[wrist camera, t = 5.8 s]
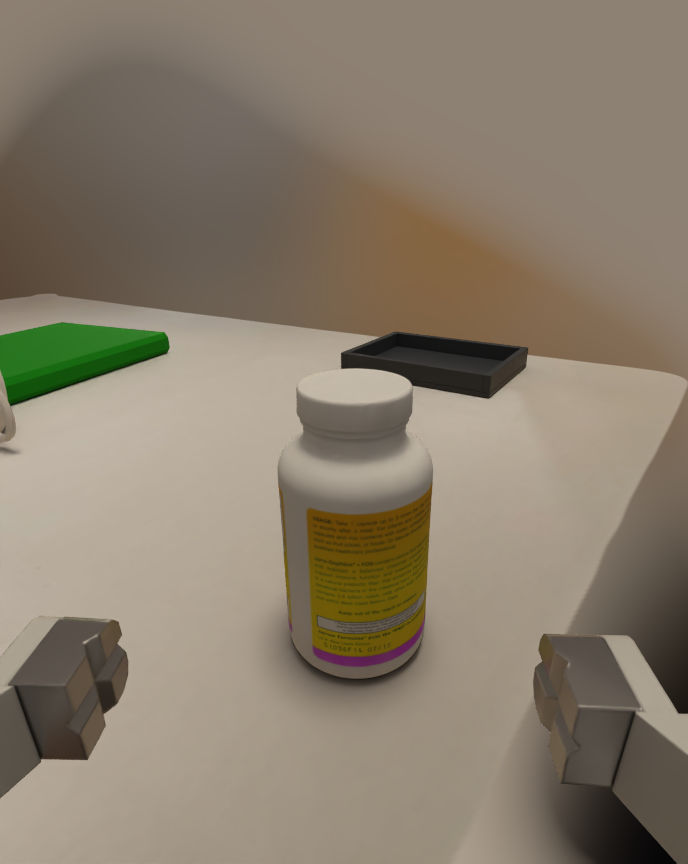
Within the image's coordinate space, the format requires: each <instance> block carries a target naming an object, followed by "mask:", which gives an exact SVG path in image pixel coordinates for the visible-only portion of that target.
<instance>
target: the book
mask: <svg viewBox="0 0 688 864" xmlns="http://www.w3.org/2000/svg"><path fill="white" fill-rule="evenodd" d="M169 348H170V347H169V341H168V337H167V335H166V334H165V333H164V332H155V331H145V330H134V329H124V328H114V327H103V326H93V325H83V324H73V323H62V322H61V323H57V324H52V325H47V326H43V327H38V328H33V329H29V330H24V331H19V332H15V333H10V334H5V335H1V336H0V371H1V374H2V377H3V380H4V383H5V387H6V392H7V398H8V402H9V404H10V405H11V404H14V403H17V402H20V401H23V400H26V399H29V398H32V397H35V396H38V395H41V394H44V393H47V392H50V391H53V390H56V389H59V388H62V387H65V386H68V385H71V384H74V383H77V382H80V381H83V380H86V379H89V378H92V377H95V376H98V375H101V374H104V373H107V372H110V371H113V370H116V369H119V368H122V367H125V366H127V365H130V364H133V363H136V362H139V361H142V360H145V359H148V358H151V357H154V356H157V355H160V354H163V353H166V352H168V350H169Z"/></svg>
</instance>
